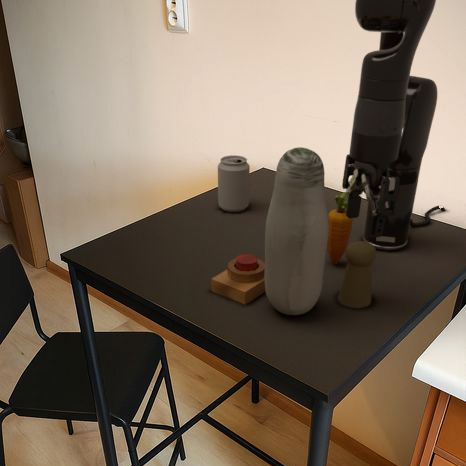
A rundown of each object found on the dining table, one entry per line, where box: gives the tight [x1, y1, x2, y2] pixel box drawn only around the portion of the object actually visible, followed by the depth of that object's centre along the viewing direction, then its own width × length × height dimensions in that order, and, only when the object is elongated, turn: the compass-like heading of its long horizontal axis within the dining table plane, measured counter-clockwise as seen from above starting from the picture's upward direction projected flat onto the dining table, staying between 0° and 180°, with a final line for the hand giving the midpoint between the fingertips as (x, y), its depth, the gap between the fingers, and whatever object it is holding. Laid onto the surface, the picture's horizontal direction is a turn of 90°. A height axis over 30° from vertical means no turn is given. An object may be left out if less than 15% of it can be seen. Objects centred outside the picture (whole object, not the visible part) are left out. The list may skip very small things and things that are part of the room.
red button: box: [236, 253, 258, 271], centre depth 109 cm, size 4×4×2 cm
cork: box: [337, 240, 377, 309], centre depth 105 cm, size 6×6×11 cm
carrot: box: [327, 191, 354, 266], centre depth 115 cm, size 5×5×15 cm
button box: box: [210, 258, 266, 305], centre depth 111 cm, size 8×11×4 cm
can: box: [217, 154, 251, 213], centre depth 141 cm, size 8×8×12 cm
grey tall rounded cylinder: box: [264, 147, 329, 316], centre depth 97 cm, size 10×10×28 cm
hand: (363, 226), depth 100 cm, fingers open, 8 cm apart
